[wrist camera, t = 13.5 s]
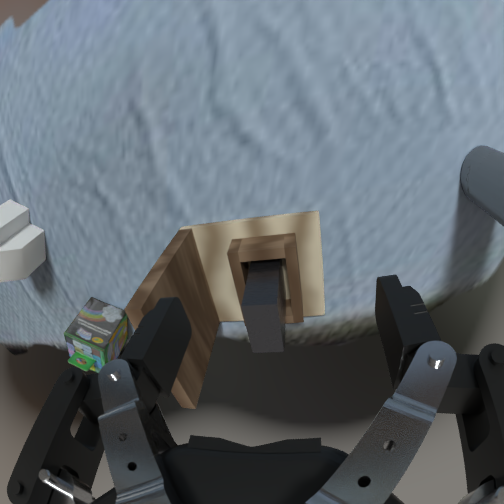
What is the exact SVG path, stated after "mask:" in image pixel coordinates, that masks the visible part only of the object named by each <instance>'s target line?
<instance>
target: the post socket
mask: <svg viewBox="0 0 504 504" xmlns="http://www.w3.org/2000/svg"><path fill="white" fill-rule="evenodd" d="M279 258H282V265H283V273H284V281H285V288H286V317H285V323H299V322H304V320H303V317H305V316H317V315H325V304H324V280H323V262H322V246H321V232H320V220H319V212H318V211H310V212H300V213H291V214H282V215H273V216H264V217H255V218H247V219H238V220H230V221H222V222H215V223H207V224H199V225H192V226H185V227H181V228H180V230H179V231H178V232H177V234H176V235H175V236H174V238H173V239H172V240H171V242H170V243H169V245H168V246H167V247H166V249H165V250H164V252H163V253H162V254H161V256H160V257H159V259H158V260H157V262H156V263H155V264H154V266H153V267H152V269H151V270H150V272H149V273H148V275H147V276H146V278H145V279H144V280H143V282H142V283H141V285H140V286H139V288H138V289H137V291H136V292H135V294H134V295H133V297H132V298H131V300H130V301H129V303H128V305H127V306H126V308H125V309H124V310H125V312H126V314H127V316H128V318H129V320H130V322H131V324H132V325H133V327H134V329H135V330H136V328H138V325H139V323H140V321H141V320H142V318H143V317H144V316H145V315H146V314H147V313H148V312H149V311H150V310H153V309H154V307H155V306H156V304H157V302H158V300H159V299H160V298H166V297H178V298H179V299H180V301H181V303H182V305H183V307H184V310H185V312H186V314H187V317H188V319H189V321H190V324H191V328H192V335H191V339H190V341H189V344H188V347H187V349H186V352H185V355H184V357H183V360H182V363H181V365H180V368H179V371H178V373H177V376H176V379H175V382H174V384H173V387H172V390H171V392H172V393H173V394H174V396H175V398H176V399H177V401H178V402H179V403H180V405H181V406H182V407H183V408H193V409H195V408H196V406H197V402H198V398H199V395H200V391H201V388H202V384H203V380H204V377H205V373H206V370H207V366H208V362H209V359H210V355H211V352H212V348H213V345H214V341H215V338H216V334H217V331H218V327H219V323H220V322H221V321H244V323H245V320H244V316H243V312H242V307H241V304H242V300H243V295H244V291H245V286H246V282H247V277H248V272H249V268H250V263H251V261H258V260H269V259H279ZM245 326H246V324H245Z"/></svg>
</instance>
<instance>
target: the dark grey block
mask: <svg viewBox="0 0 504 504" xmlns="http://www.w3.org/2000/svg"><path fill="white" fill-rule="evenodd" d="M241 307H242V312H243V316H244V320H245V324H246V328H247V332H248V336H249V340H250V344H251V347H252V352H253V353H266V352H268V353H269V352H284V342H285V317H286V288H285V281H284V273H283V265H282V258H279V259H269V260H258V261H251V263H250V268H249V272H248V277H247V282H246V286H245V291H244V295H243V300H242V304H241Z"/></svg>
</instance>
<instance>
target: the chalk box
mask: <svg viewBox="0 0 504 504" xmlns="http://www.w3.org/2000/svg"><path fill="white" fill-rule="evenodd" d="M64 336H65V340H66V344H67V348H68V351H69V355H70V358H69V360H68V363H70V364H72V365H74V366H76V367H78V368H80V369H82V370H84V371H88V370H89V369H90V370H92V371H94V372H97V373H99V371H100V370H101V368H102V367H103V366H104V365H105V364H106V363H108V362H109V361H112V360H115V359H117V358H118V356H119V354H120V352H121V350H122V348H123V346H124V344H125V342H126V340H127V314H126V312H125V311H124V310H122V309H119V308H117V307H114V306H111V305H109V304H107V303H104V302H102V301H99V300H97V299H95V298H93V297H91V298H90V300H89V301H88V302H87V303H86V305H85V306H84V307H83V309H82V310H81V311H80V313H79V314H78V315H77V316H76V318H75V319H74V320H73V322H72V323H71V325H70V326H69V327H68V329H67V330H66V331H65V332H64Z"/></svg>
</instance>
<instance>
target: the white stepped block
mask: <svg viewBox="0 0 504 504" xmlns="http://www.w3.org/2000/svg"><path fill="white" fill-rule="evenodd" d="M45 260H46V253H45V235H44V230H42V229H40V228H38V227H36V226H34V225H32V224H30V223H29V208H26V207H24V206H22V205H20V204H18V203H16V202H14V201H12V200H8V201H7V202H5V203H3V204H2V205H0V282H6V281H14V280H21V279H26V278H27V277H28V276H29V275H30V274H31V273H32V272H33V271H34V270H35V269H36V268H38V267H39V266H40V265H41V264H42V263H43V262H44V261H45Z"/></svg>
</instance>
